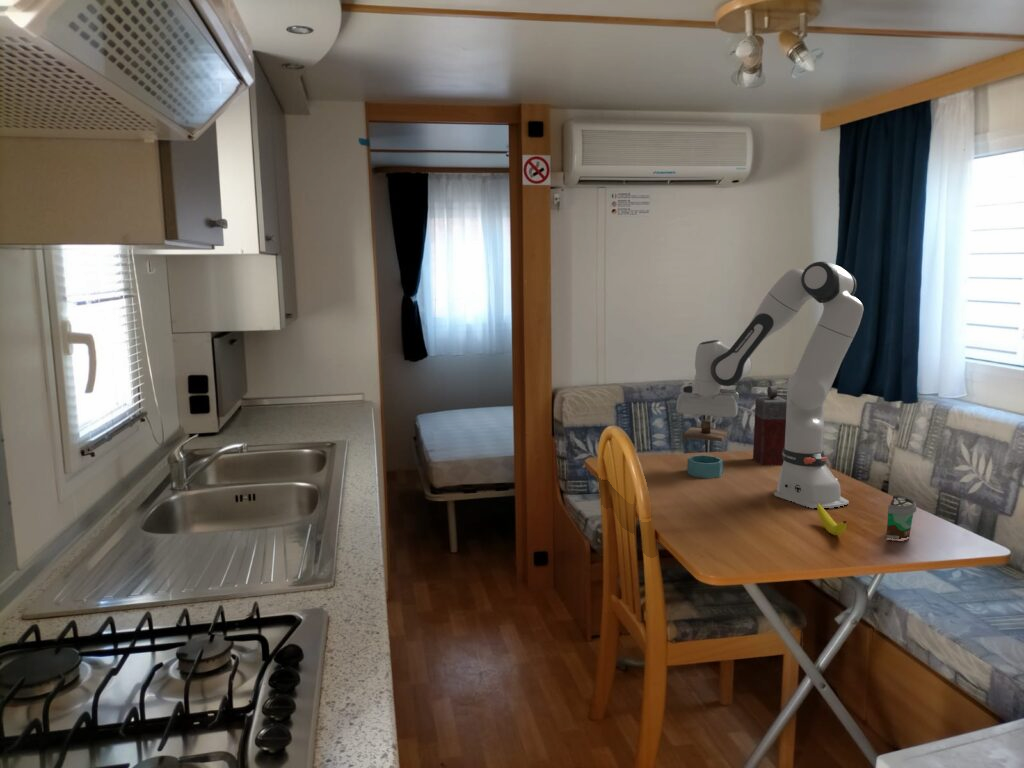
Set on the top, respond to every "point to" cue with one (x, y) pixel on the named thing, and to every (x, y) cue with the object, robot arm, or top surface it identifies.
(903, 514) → the food container
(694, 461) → the bowl
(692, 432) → the lid
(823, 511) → the banana
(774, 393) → the dark red canister
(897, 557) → the top surface
